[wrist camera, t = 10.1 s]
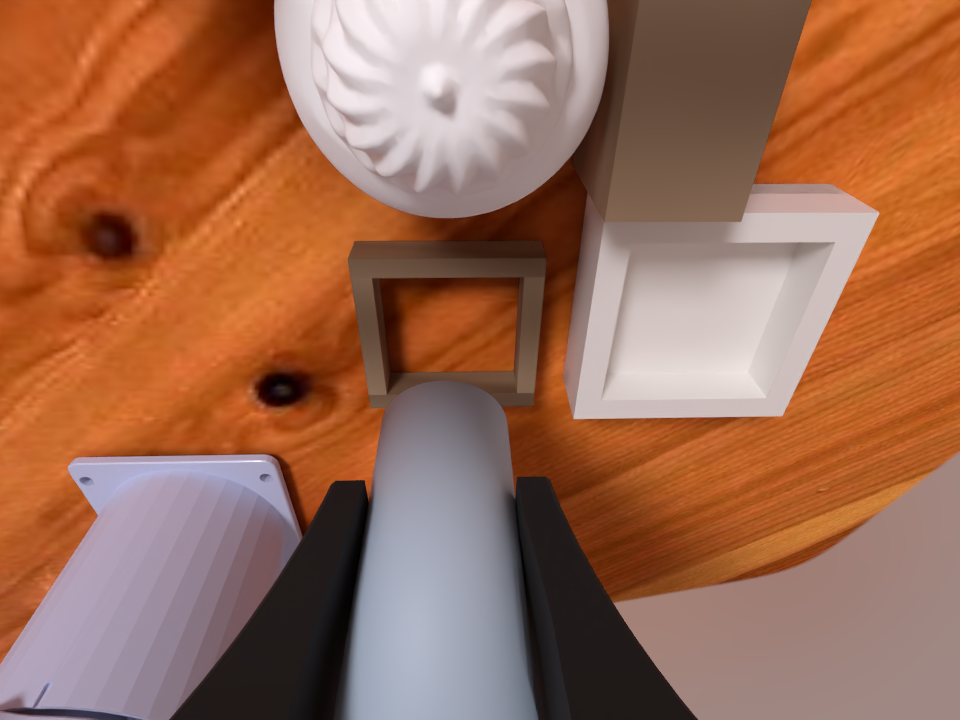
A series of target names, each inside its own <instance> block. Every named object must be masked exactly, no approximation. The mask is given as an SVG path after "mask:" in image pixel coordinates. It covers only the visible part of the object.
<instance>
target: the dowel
mask: <svg viewBox="0 0 960 720" xmlns="http://www.w3.org/2000/svg"><path fill="white" fill-rule="evenodd" d="M333 720H539V719H538V710H537V700H536V691H535V681H534V671H533V662H532V652H531V643H530V633H529V624H528V614H527V605H526V595H525V586H524V576H523V567H522V557H521V548H520V539H519V530H518V520H517V511H516V501H515V490H514V481H513V471H512V462H511V452H510V443H509V433H508V424H507V418H506V415H505V412H504V410H503V408H502V407H501V405H500V404H499V403H498V401H497V400H496V399H495V398H494V397H492V396H491V395H490V394H488V393H487V392H485V391H484V390H482V389H480V388H478V387H475V386H473V385H470V384H467V383H462V382H457V381H431V382H426V383H422V384H419V385H416V386H413V387H411V388H409V389H407V390H405V391H403V392H402V393H400V394H399V395H398V396H396V397H395V398H394V399H393V400H392V401H391V402H390V404H389V405H388V407H387V408H386V410H385V412H384V415H383V419H382V424H381V430H380V437H379V443H378V449H377V455H376V461H375V467H374V473H373V479H372V485H371V491H370V497H369V503H368V509H367V515H366V522H365V528H364V534H363V540H362V546H361V552H360V558H359V564H358V570H357V576H356V582H355V588H354V594H353V600H352V606H351V612H350V619H349V625H348V631H347V637H346V643H345V649H344V655H343V661H342V667H341V673H340V679H339V685H338V691H337V697H336V703H335V710H334V716H333Z"/></svg>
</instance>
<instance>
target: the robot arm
mask: <svg viewBox="0 0 960 720" xmlns="http://www.w3.org/2000/svg"><path fill="white" fill-rule="evenodd" d="M68 471H69V473H70V475H71V476H72V477H73V479H74V480H75V482H76V483H77V485H78V486H79V488H80V489H81V491H82V492H83V494H84V495H85V497H86V498H87V500H88V501H89V502H90V504H91V505H92V507H93V508H94V510H95V511H96V513H97V514H98V517H97V519H96V520H95V522H94V523H93V525H92V526H91V528H90V529H89V531H88V532H87V534H86V535H85V537H84V538H83V540H82V541H81V543H80V544H79V546H78V547H77V549H76V550H75V552H74V554H73V555H72V557H71V558H70V560H69V561H68V563H67V564H66V566H65V567H64V569H63V570H62V572H61V573H60V575H59V576H58V578H57V579H56V581H55V582H54V584H53V585H52V587H51V588H50V590H49V591H48V593H47V595H46V596H45V598H44V599H43V601H42V602H41V604H40V605H39V607H38V608H37V610H36V611H35V613H34V614H33V616H32V617H31V619H30V620H29V622H28V623H27V625H26V626H25V628H24V629H23V631H22V632H21V634H20V636H19V637H18V639H17V640H16V642H15V643H14V645H13V646H12V648H11V649H10V651H9V652H8V654H7V655H6V657H5V658H4V660H3V661H2V663H1V664H0V720H333V716H334V710H335V703H336V697H337V691H338V685H339V679H340V673H341V667H342V661H343V655H344V649H345V643H346V637H347V631H348V625H349V619H350V612H351V606H352V600H353V594H354V588H355V582H356V576H357V570H358V564H359V558H360V552H361V546H362V540H363V534H364V528H365V522H366V515H367V509H368V503H369V502H368V497H367V491H366V486H365V480H356V481H335V482H334V483H332V484H331V486H330V488H329V490H328V492H327V494H326V496H325V498H324V500H323V502H322V504H321V505H320V507H319V509H318V511H317V513H316V515H315V517H314V518H313V520H312V522H311V524H310V525H309V527H308V529H307V531H306V532H305V534H304V536H303V537H302V534H301V530H300V527H299V524H298V521H297V518H296V515H295V512H294V509H293V506H292V502H291V499H290V496H289V493H288V490H287V487H286V484H285V481H284V478H283V474H282V471H281V468H280V465H279V462H278V461H277V459H275V458H274V457H273V456H270V455H265V454H256V455H193V456H130V457H80V458H76V459H74V460H73V461H72V462H71V464H70V465H69V466H68ZM267 474H269V475H267ZM515 501H516V511H517V520H518V530H519V539H520V548H521V557H522V567H523V576H524V586H525V595H526V605H527V614H528V624H529V633H530V643H531V652H532V662H533V671H534V681H535V691H536V700H537V710H538V719H539V720H698V719H697V718H696V717H695V716H694V715H693V713H692V712H691V711H690V710H689V708H688V707H687V706H686V705H685V704H684V702H683V701H682V700H681V699H680V697H679V696H678V695H677V694H676V692H675V691H674V690H673V688H672V687H671V686H670V684H669V683H668V682H667V680H666V679H665V678H664V676H663V675H662V674H661V672H660V671H659V670H658V668H657V667H656V666H655V664H654V663H653V662H652V660H651V659H650V657H649V656H648V655H647V653H646V652H645V650H644V649H643V647H642V646H641V645H640V644H639V642H638V640H637V639H636V637H635V636H634V634H633V633H632V632H631V630H630V629H629V627H628V626H627V624H626V622H625V621H624V619H623V618H622V616H621V615H620V613H619V612H618V610H617V609H616V607H615V605H614V604H613V602H612V601H611V599H610V597H609V596H608V594H607V593H606V591H605V589H604V588H603V586H602V584H601V583H600V581H599V579H598V578H597V576H596V574H595V572H594V570H593V569H592V567H591V565H590V563H589V562H588V560H587V558H586V556H585V554H584V553H583V551H582V549H581V547H580V545H579V543H578V541H577V539H576V538H575V536H574V534H573V532H572V530H571V528H570V525H569V523H568V521H567V519H566V517H565V515H564V513H563V511H562V509H561V506H560V504H559V502H558V499H557V497H556V494H555V492H554V490H553V487H552V484H551V481H550V480H549V479H548V478H547V477H517V484H516V498H515Z"/></svg>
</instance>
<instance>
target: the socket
mask: <svg viewBox="0 0 960 720" xmlns="http://www.w3.org/2000/svg"><path fill="white" fill-rule="evenodd" d="M546 261H547V257H546V254H545V251H544V247H543V244H542V241H355V242H354V245H353V247H352V250H351V253H350V255H349V258H348V263H349V269H350V276H351V282H352V289H353V295H354V302H355V308H356V315H357V321H358V328H359V334H360V341H361V347H362V354H363V360H364V367H365V373H366V380H367V386H368V393H369V399H370V406H371V408H387V407H388V405H389V404H390V402H391V401H392V400H393V399H394V398H395V397H396V396H398V395H399V394H400V393H402V392H403V391H405V390H407V389H409V388H411V387H413V386H416V385H419V384H422V383H426V382H431V381H457V382H462V383H467V384H470V385H473V386H475V387H478V388H480V389H482V390H484V391H485V392H487V393H488V394H490V395H491V396H492V397H494V398H495V399H496V400H497V401H498V403H499V404H500V405H501V406H533V402H534V391H535V380H536V369H537V359H538V348H539V337H540V326H541V315H542V304H543V294H544V283H545V272H546ZM493 277H520V278H519V294H518V311H517V328H516V344H515V361H514V371H502V372H415V373H390V364H389V356H388V347H387V339H386V330H385V322H384V313H383V305H382V296H381V288H380V279H379V278H493Z"/></svg>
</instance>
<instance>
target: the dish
mask: <svg viewBox="0 0 960 720" xmlns="http://www.w3.org/2000/svg"><path fill="white" fill-rule="evenodd" d="M878 215H879V212H878V211H876V210H874V209H873V208H871V207H869V206H868V205H866V204H864V203H862V202H861V201H859V200H857V199H856V198H854V197H852V196H851V195H849V194H847V193H845V192H844V191H842V190H840V189H839V188H837V187H835V186H834V185H832V184H753V186H752V189H751V193H750V196H749V199H748V202H747V205H746V208H745V211H744V215H743V218H742V221H741V222H604V220H603V219H602V217H601V215H600V213H599V212H598V210H597V208H596V206H595V204H594V203H593V201H592V199H591V197H590V196H589V194H588V192H587V199H586V207H585V214H584V222H583V230H582V237H581V245H580V252H579V260H578V267H577V275H576V283H575V290H574V298H573V305H572V313H571V320H570V328H569V336H568V343H567V351H566V358H565V366H564V373H563V379H564V383H565V387H566V391H567V395H568V399H569V403H570V407H571V411H572V415H573V419H614V418H685V417H756V416H783V414H784V412H785V410H786V407H787V405H788V403H789V401H790V399H791V397H792V395H793V393H794V391H795V389H796V387H797V384H798V382H799V380H800V378H801V376H802V374H803V372H804V370H805V368H806V366H807V364H808V361H809V359H810V357H811V355H812V353H813V351H814V349H815V347H816V345H817V343H818V341H819V338H820V336H821V334H822V332H823V330H824V328H825V326H826V324H827V322H828V320H829V318H830V315H831V313H832V311H833V309H834V307H835V305H836V303H837V301H838V299H839V297H840V295H841V292H842V290H843V288H844V286H845V284H846V282H847V280H848V278H849V276H850V274H851V272H852V269H853V267H854V265H855V263H856V261H857V259H858V257H859V255H860V253H861V251H862V248H863V246H864V244H865V242H866V240H867V238H868V236H869V234H870V232H871V230H872V228H873V225H874V223H875V221H876V219H877V217H878Z"/></svg>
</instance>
